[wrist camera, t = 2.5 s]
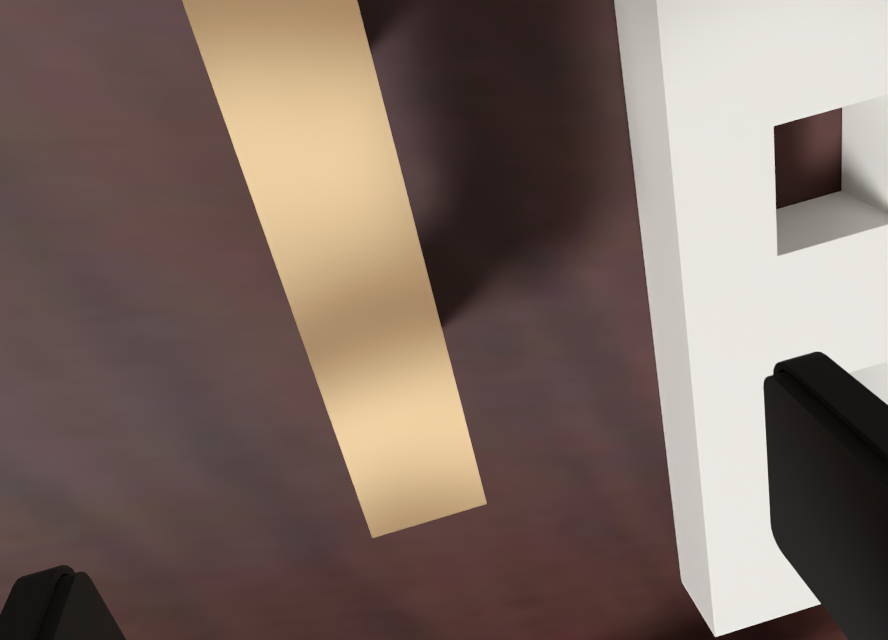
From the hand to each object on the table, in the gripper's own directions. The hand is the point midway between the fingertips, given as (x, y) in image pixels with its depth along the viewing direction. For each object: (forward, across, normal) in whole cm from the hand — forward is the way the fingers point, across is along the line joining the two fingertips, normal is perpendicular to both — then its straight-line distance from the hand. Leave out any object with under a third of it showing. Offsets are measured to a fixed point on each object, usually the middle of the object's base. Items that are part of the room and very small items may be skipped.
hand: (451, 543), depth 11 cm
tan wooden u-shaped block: (+15, +1, -1) cm, 15 cm away
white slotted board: (+16, -13, +6) cm, 21 cm away
